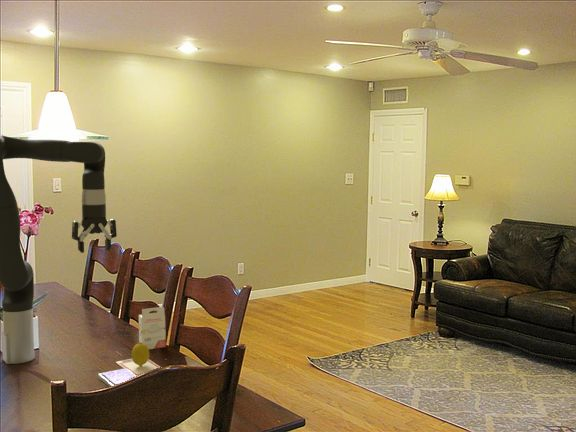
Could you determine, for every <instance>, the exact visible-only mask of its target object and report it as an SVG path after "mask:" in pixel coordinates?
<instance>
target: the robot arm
mask: <svg viewBox="0 0 576 432" xmlns="http://www.w3.org/2000/svg"><path fill="white" fill-rule="evenodd" d="M9 159H30V160H35V161H36V160H37V161H45V162H57V163H58V162H60V163H69V162H70V163H72V162H73V163H80V164H83V173H82V176H81V177H82V179H81V180H82V184H81V185H82V187H81V188H82V192H81V193H82V194H81V213H82V214H81V221H75V220H73V221H72V223H71V227H72V228H71V239H72V240H74V241H77V249H78V250H77V251H79V252H80V253H81V254H84V253H85V242H84V240H85V239H86V237H88V236H89V234H90V235H93V234H102V235H103V237H104V238H105V239H104V249H105V251H106V252H110V250H111V249H112V239H115V238H116V237H117V235H118V233H117V221H116V219H113V218H111V219H107V206H106V205H107V203H106V201H107V199H106V191H105V188H106V187H105V186H106V185H105V167H106V150H105V148H104V146H103V145H102V144H101V143H98V142H96V141H70V140H64V139H62V140H61V139H24V138H18V137H17V138H16V137H10V136H6V135H3V134H0V284H1V285H2V287H3V289H4V292H3V298H2V305H1V307H2V308H1V309H2V332H1V347H2V348H1V349H2V351H1V352H2V360H3V361H4V362H5V364H6V365H10V364H11V365H13V364H15V365H17V364H25V363H28V362H30V361H33V360H35V339H34V338H35V335H34V307H33V306H34V305H33V304H34V303H33V302H34V296H35V295H34V293H35V289H34V288H35V287H34V285H35V284H34V283H35V282H34V281H35V280H34V270H33V267H32V265H31V264H30V263H29V262H28V261H26V260H25V259H24V258H23V257H24V256H23V253H22V249H21V217H20V211H19V206H18V202H17V201H18V200H17V198H16V196H15V194H14V191H13V188H12V187H11V185H10V182H9V181H8V178H7V177H6V172H5V166H4V160H9ZM107 225H108V226H109V231H110V233H109V232H108V230H107V229H106V227H107ZM81 227H82V230H81V232H80V234H79V229H80V228H81Z"/></svg>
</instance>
